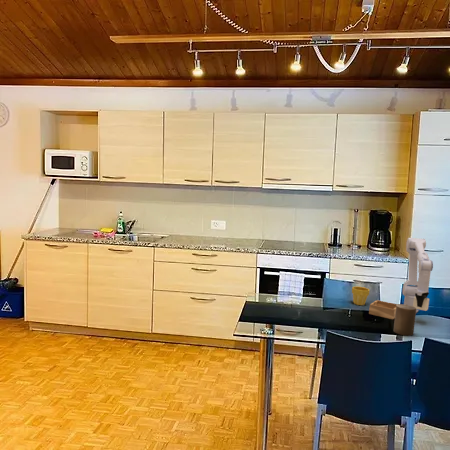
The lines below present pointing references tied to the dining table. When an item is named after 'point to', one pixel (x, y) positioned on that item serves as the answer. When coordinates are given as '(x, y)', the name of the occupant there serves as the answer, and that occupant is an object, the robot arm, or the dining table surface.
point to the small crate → (424, 306)
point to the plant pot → (360, 295)
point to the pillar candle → (404, 319)
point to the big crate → (383, 309)
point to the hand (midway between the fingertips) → (420, 305)
